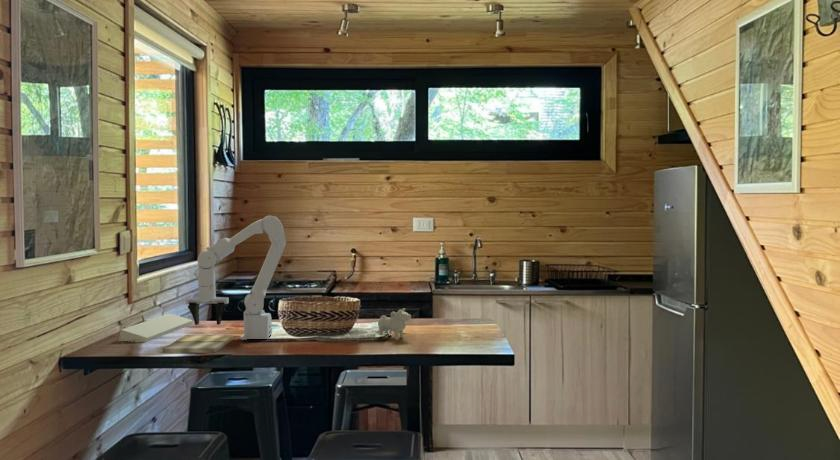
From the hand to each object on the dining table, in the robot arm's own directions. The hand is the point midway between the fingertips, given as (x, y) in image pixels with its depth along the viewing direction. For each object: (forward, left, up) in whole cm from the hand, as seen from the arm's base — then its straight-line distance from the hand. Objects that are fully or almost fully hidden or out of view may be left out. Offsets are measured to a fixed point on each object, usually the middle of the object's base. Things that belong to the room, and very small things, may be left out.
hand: (207, 324), depth 237 cm
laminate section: (0, +14, -6) cm, 15 cm away
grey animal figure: (-65, -5, -6) cm, 65 cm away
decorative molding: (+24, -15, -7) cm, 29 cm away
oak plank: (0, +3, -6) cm, 6 cm away
